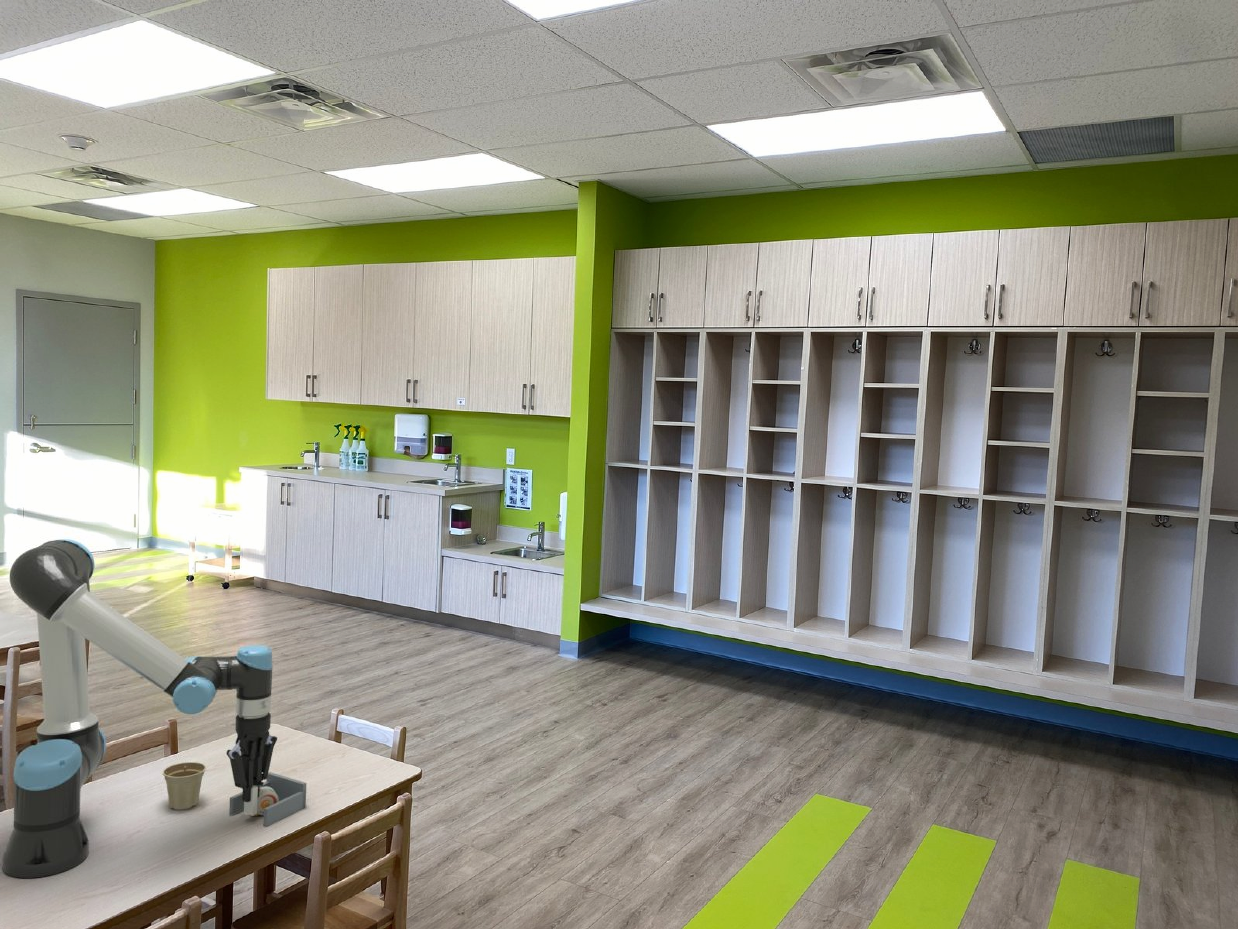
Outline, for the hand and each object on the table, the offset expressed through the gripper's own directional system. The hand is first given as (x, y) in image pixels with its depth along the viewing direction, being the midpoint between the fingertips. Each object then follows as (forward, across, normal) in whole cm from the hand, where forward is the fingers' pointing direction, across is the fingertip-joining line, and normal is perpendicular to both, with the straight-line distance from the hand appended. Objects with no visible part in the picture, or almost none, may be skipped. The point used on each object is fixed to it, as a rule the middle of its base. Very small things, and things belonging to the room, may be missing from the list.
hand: (250, 813), depth 209 cm
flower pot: (+2, -2, +19) cm, 20 cm away
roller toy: (+2, +4, 0) cm, 5 cm away
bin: (+2, +6, 0) cm, 6 cm away
